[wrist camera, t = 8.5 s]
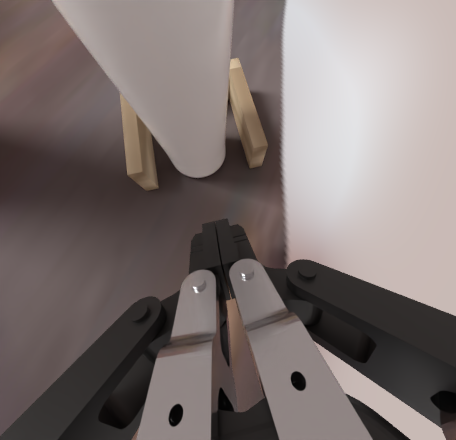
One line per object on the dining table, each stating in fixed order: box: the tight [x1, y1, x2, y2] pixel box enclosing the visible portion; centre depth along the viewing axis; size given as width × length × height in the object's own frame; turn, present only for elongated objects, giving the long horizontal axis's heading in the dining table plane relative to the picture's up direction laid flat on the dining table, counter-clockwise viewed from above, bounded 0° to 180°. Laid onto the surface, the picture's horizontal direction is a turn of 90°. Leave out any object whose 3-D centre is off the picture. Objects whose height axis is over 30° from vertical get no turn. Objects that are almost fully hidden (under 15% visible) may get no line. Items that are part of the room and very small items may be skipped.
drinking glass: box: [51, 0, 234, 178], centre depth 9 cm, size 7×7×15 cm
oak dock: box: [120, 58, 268, 191], centre depth 15 cm, size 11×10×4 cm
